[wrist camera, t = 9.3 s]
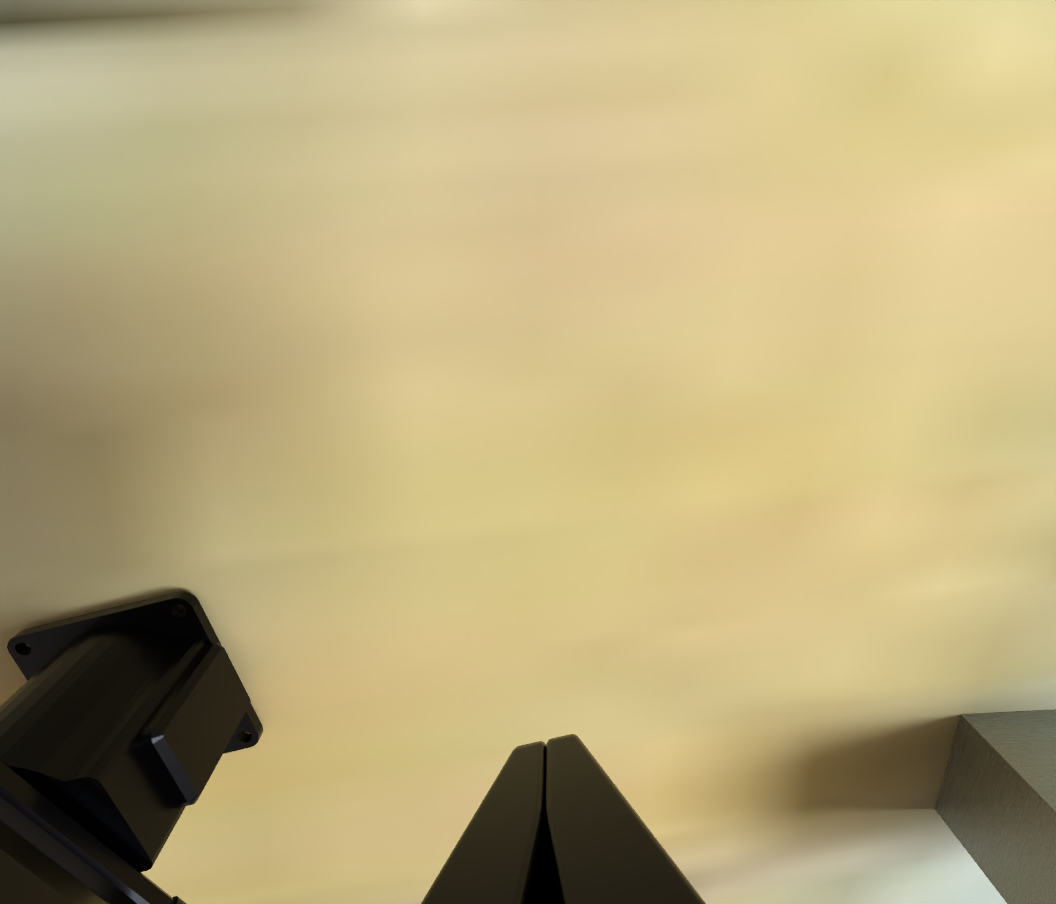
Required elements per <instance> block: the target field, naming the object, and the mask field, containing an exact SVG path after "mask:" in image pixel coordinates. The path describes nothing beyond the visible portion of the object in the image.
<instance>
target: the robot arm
mask: <svg viewBox="0 0 1056 904" xmlns="http://www.w3.org/2000/svg"><path fill="white" fill-rule="evenodd" d="M177 605H182V606H184V608H185V609H186V611H184V610H181V609H180V608H179V607H178V606H177ZM26 644H28V645H29V646H30V647H29V646H27V645H26ZM7 648H8V651H9V653H10V654H11V656H12V657H13V659H14V661H15V662H16V664H17V665H18V667H19V668H20V670H21V671H22V673H23V674H24V676H25V677H26V679H27V680H28V681H27V682H26V683H25V684H24V685H23V686H22V687H21V688H20V689H18V690H17V691H16V692H15V693H14V694H13V695H12V696H11V697H10V698H9V699H8V700H7V701H5V702H4V703H3V704H2V705H1V706H0V904H186V903H185V902H184V901H182V900H181V899H180V898H179V897H177V896H175V897H173V898H172V897H171V896H169V895H168V894H167V893H166V892H164V891H163V890H162V889H161V888H159V887H158V886H157V885H156V884H155V883H153V882H152V881H151V880H150V879H148V878H147V877H146V876H145V875H143V874H142V873H141V872H143V871H147V870H149V869H151V867H152V866H153V864H154V862H155V860H156V858H157V857H158V855H159V853H160V851H161V849H162V848H163V846H164V844H165V842H166V841H167V839H168V837H169V835H170V833H171V832H172V830H173V828H174V826H175V825H176V823H177V821H178V819H179V817H180V816H181V814H182V812H183V810H184V808H185V807H186V806H188V805H192V804H195V802H196V801H197V800H198V798H199V796H200V794H201V793H202V791H203V789H204V787H205V785H206V783H207V782H208V780H209V778H210V776H211V774H212V772H213V771H214V769H215V767H216V765H217V763H218V761H219V760H220V758H221V756H222V754H223V753H228V752H232V751H236V750H241V749H245V748H249V747H252V746H254V745H256V744H257V742H258V741H259V739H260V737H261V735H262V732H263V727H262V724H261V722H260V720H259V718H258V716H257V714H256V712H255V710H254V708H253V706H252V704H251V703H250V702H251V701H250V698H249V696H248V694H247V692H246V690H245V688H244V686H243V684H242V682H241V680H240V678H239V676H238V674H237V672H236V671H235V669H234V667H233V665H232V663H231V661H230V659H229V657H228V655H227V653H226V651H225V649H224V647H222V646H221V644H220V642H219V640H218V638H217V636H216V634H215V632H214V630H213V628H212V626H211V624H210V622H209V620H208V618H207V616H206V614H205V612H204V610H203V608H202V606H201V604H200V602H199V600H198V599H197V598H196V597H195V596H194V595H192V594H191V593H188V592H176V593H172V594H168V595H164V596H160V597H155V598H151V599H147V600H143V601H139V602H135V603H131V604H127V605H123V606H119V607H115V608H111V609H107V610H103V611H98V612H94V613H90V614H86V615H82V616H78V617H74V618H70V619H66V620H62V621H58V622H54V623H50V624H46V625H41V626H37V627H33V628H29V629H25V630H23V631H21V632H19V633H18V634H17V635H15V636H14V637H13V638H12V639H10V641H9V642H8V646H7ZM244 731H246V732H249V733H250V734H247V733H245V732H244ZM421 904H706V903H705V902H704V901H703V899H702V898H701V897H700V895H699V894H698V893H697V892H696V890H695V889H694V888H693V886H692V885H691V884H690V882H689V881H688V880H687V878H686V877H685V876H684V875H683V873H682V872H681V871H680V869H679V868H678V867H677V865H676V864H675V863H674V861H673V860H672V859H671V858H670V856H669V855H668V854H667V852H666V851H665V850H664V848H663V847H662V846H661V844H660V843H659V842H658V841H657V839H656V838H655V837H654V835H653V834H652V833H651V831H650V830H649V829H648V827H647V826H646V825H645V824H644V822H643V821H642V820H641V818H640V817H639V816H638V814H637V813H636V812H635V810H634V809H633V808H632V807H631V805H630V804H629V803H628V801H627V800H626V799H625V797H624V796H623V795H622V793H621V792H620V791H619V790H618V788H617V787H616V786H615V784H614V783H613V782H612V780H611V779H610V778H609V776H608V775H607V774H606V773H605V771H604V770H603V769H602V767H601V766H600V765H599V763H598V762H597V761H596V759H595V758H594V757H593V756H592V754H591V753H590V752H589V750H588V749H587V748H586V746H585V745H584V744H583V742H582V741H581V740H580V739H579V737H578V736H576V735H575V734H570V735H566V736H561V737H557V738H552V739H550V740H549V741H548V742H547V744H545V743H544V742H542V741H539V742H534V743H530V744H526V745H521V746H518V747H516V748H515V749H514V750H513V751H512V753H511V755H510V756H509V758H508V760H507V761H506V763H505V765H504V766H503V768H502V770H501V771H500V773H499V775H498V776H497V778H496V780H495V781H494V783H493V785H492V786H491V788H490V790H489V791H488V793H487V795H486V796H485V798H484V800H483V801H482V803H481V805H480V806H479V808H478V810H477V811H476V813H475V815H474V816H473V818H472V820H471V821H470V823H469V825H468V826H467V828H466V830H465V831H464V833H463V835H462V836H461V838H460V840H459V841H458V843H457V845H456V846H455V848H454V850H453V851H452V853H451V855H450V856H449V858H448V860H447V861H446V863H445V865H444V866H443V868H442V870H441V871H440V873H439V875H438V876H437V878H436V880H435V881H434V883H433V885H432V886H431V888H430V890H429V891H428V893H427V895H426V896H425V898H424V900H423V901H422V903H421Z"/></svg>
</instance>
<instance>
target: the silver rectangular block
mask: <svg viewBox="0 0 1056 904" xmlns="http://www.w3.org/2000/svg"><path fill="white" fill-rule="evenodd" d="M935 810H936V811H937V812H938V814H939V815H940V816H941V818H942V819H943V820H944V821H945V823H946V824H947V825H948V827H949V828H950V829H951V831H952V832H953V833H954V835H955V836H956V837H957V838H958V840H959V841H960V842H961V844H962V845H963V846H964V848H965V849H966V850H967V851H968V853H969V854H970V855H971V857H972V858H973V859H974V861H975V862H976V863H977V865H978V866H979V867H980V868H981V870H982V871H983V872H984V874H985V875H986V876H987V878H988V879H989V880H990V881H991V883H992V884H993V885H994V887H995V888H996V889H997V891H998V892H999V893H1000V895H1001V896H1002V897H1003V898H1004V900H1005V901H1006V902H1007V904H1056V709H1055V710H1035V711H1016V712H996V713H976V714H961V715H960V719H959V723H958V726H957V730H956V734H955V738H954V741H953V745H952V749H951V752H950V756H949V760H948V763H947V767H946V771H945V774H944V778H943V782H942V786H941V789H940V793H939V797H938V800H937V804H936V808H935Z"/></svg>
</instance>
